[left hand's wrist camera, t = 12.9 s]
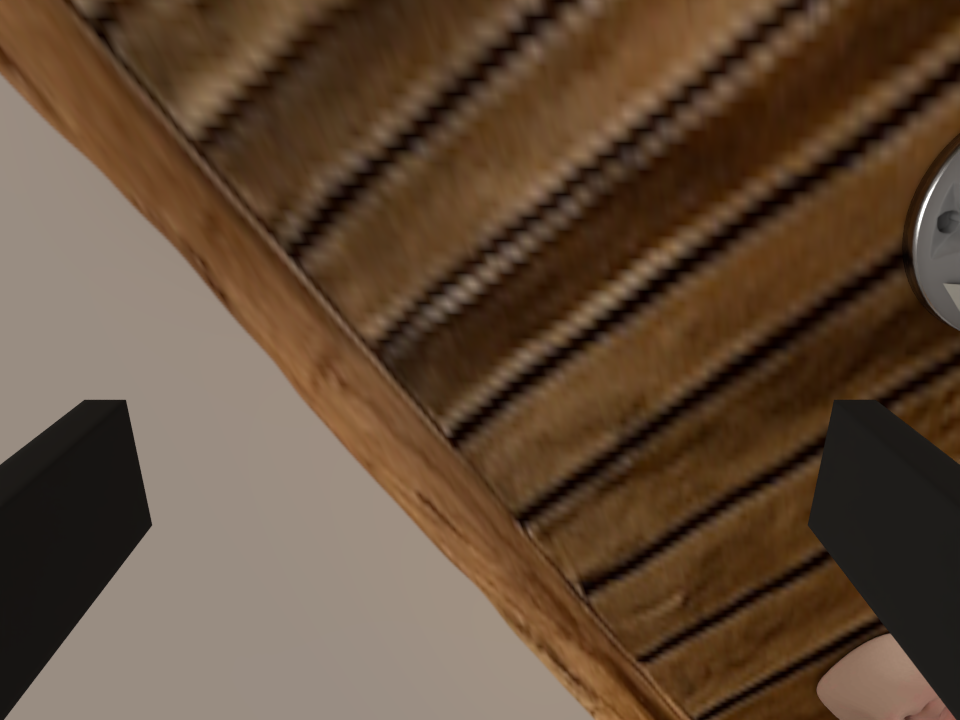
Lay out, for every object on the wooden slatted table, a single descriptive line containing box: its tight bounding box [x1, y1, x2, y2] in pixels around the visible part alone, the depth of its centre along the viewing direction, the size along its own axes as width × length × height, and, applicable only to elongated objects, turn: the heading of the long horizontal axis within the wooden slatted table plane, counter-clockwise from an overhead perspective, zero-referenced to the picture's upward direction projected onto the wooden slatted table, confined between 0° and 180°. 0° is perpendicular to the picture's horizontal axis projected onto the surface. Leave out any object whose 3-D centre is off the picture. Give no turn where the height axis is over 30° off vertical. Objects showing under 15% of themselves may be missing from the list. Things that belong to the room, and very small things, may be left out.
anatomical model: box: [817, 633, 956, 720], centre depth 55 cm, size 13×4×12 cm
